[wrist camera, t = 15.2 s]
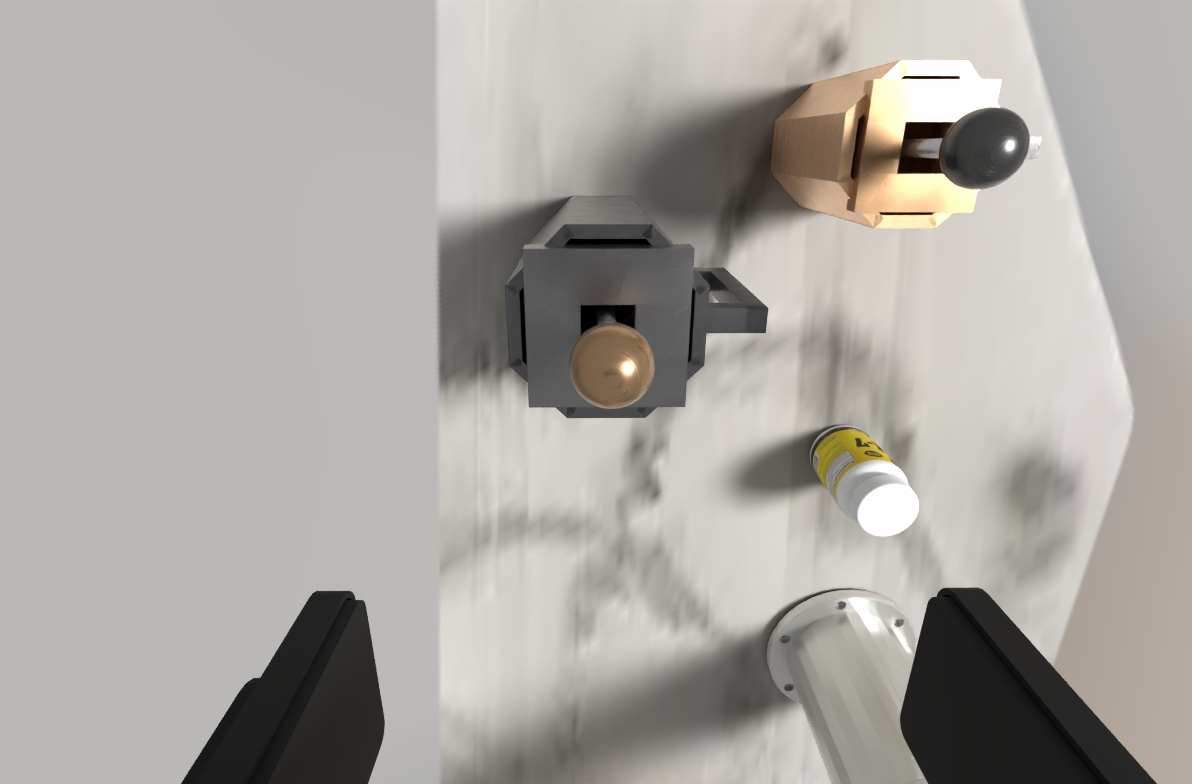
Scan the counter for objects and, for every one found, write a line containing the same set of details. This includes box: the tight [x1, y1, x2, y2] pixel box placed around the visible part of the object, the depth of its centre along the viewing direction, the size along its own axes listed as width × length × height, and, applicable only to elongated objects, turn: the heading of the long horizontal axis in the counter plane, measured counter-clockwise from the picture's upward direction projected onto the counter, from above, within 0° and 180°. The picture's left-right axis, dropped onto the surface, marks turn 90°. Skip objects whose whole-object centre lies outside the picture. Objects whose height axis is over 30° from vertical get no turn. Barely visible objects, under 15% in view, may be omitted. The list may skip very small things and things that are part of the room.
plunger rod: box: [569, 305, 655, 409], centre depth 31 cm, size 3×3×21 cm
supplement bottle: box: [810, 425, 919, 537], centre depth 44 cm, size 5×5×8 cm
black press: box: [505, 196, 768, 418], centre depth 35 cm, size 12×9×16 cm
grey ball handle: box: [853, 107, 1030, 190], centre depth 31 cm, size 3×3×17 cm
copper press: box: [770, 60, 1042, 228], centre depth 34 cm, size 10×7×12 cm
